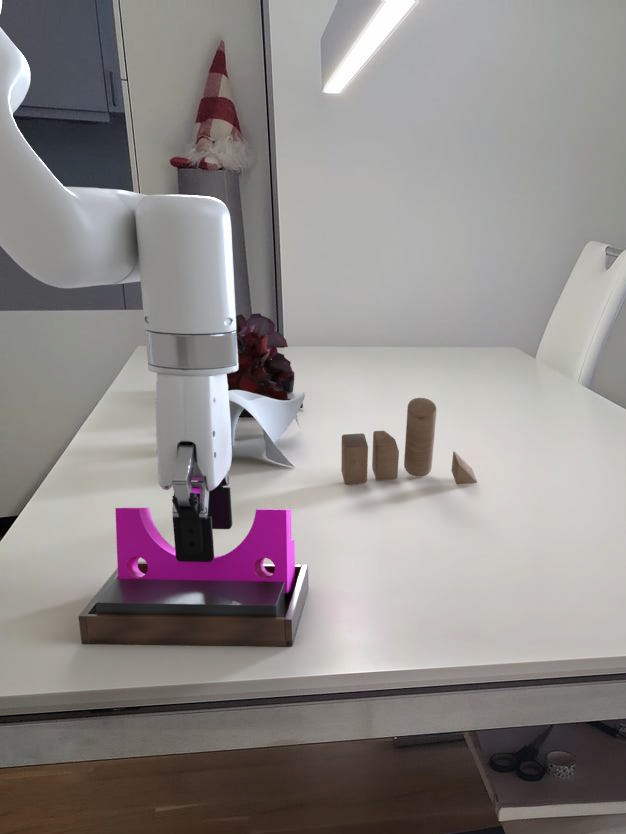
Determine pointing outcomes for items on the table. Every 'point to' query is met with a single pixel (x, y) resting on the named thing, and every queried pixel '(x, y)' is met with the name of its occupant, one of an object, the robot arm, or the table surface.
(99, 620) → the wooden tray
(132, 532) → the toy block
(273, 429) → the sculpture
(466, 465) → the wooden block set
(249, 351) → the flower arrangement
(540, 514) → the table surface
